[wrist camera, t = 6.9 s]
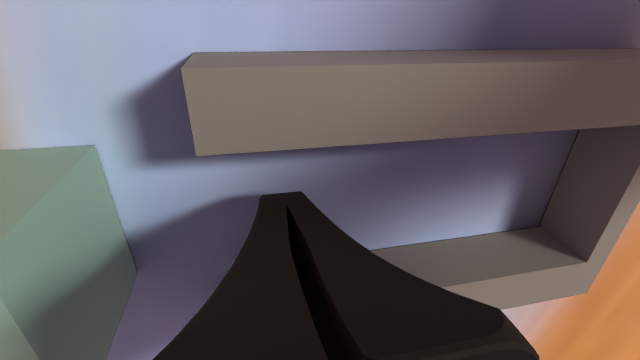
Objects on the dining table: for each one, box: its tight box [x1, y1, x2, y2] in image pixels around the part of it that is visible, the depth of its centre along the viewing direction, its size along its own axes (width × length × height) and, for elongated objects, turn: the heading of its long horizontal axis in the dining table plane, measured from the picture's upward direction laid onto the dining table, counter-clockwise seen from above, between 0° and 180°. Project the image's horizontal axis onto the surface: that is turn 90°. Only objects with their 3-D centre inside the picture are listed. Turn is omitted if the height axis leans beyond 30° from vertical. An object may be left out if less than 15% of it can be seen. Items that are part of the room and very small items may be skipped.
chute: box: [181, 48, 640, 310], centre depth 12 cm, size 16×10×2 cm, turn 89°
